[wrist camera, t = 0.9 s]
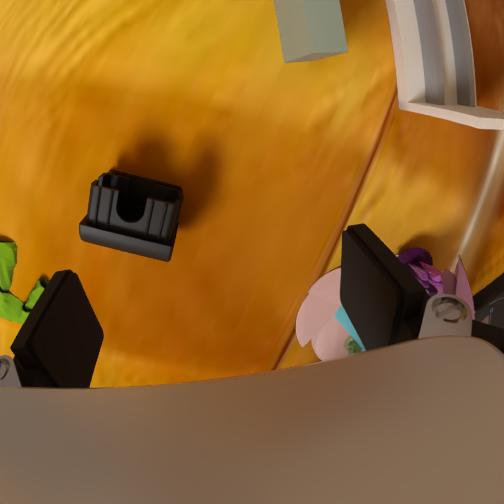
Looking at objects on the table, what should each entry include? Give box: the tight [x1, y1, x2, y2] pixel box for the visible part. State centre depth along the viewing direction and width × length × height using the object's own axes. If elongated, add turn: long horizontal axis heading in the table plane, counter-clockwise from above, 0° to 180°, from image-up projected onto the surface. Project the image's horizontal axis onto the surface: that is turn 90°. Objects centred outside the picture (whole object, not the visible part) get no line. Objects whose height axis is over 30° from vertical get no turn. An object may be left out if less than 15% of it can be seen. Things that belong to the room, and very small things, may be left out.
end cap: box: [79, 170, 183, 262], centre depth 32 cm, size 10×7×7 cm
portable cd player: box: [472, 273, 504, 329], centre depth 52 cm, size 16×17×4 cm
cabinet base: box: [385, 0, 504, 130], centre depth 20 cm, size 26×12×14 cm, turn 8°
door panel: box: [274, 0, 348, 63], centre depth 22 cm, size 10×3×10 cm, turn 8°
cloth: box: [0, 241, 49, 324], centre depth 37 cm, size 20×22×2 cm
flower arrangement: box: [296, 248, 475, 361], centre depth 35 cm, size 35×24×28 cm
